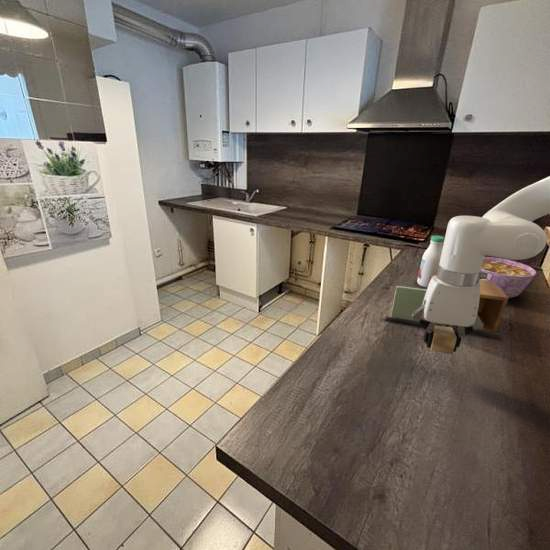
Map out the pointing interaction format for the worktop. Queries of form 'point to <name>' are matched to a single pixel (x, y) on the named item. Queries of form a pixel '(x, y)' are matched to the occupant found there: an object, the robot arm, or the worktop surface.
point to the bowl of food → (508, 275)
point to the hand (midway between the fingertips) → (440, 345)
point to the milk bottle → (430, 261)
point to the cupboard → (480, 309)
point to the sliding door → (408, 302)
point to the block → (443, 339)
